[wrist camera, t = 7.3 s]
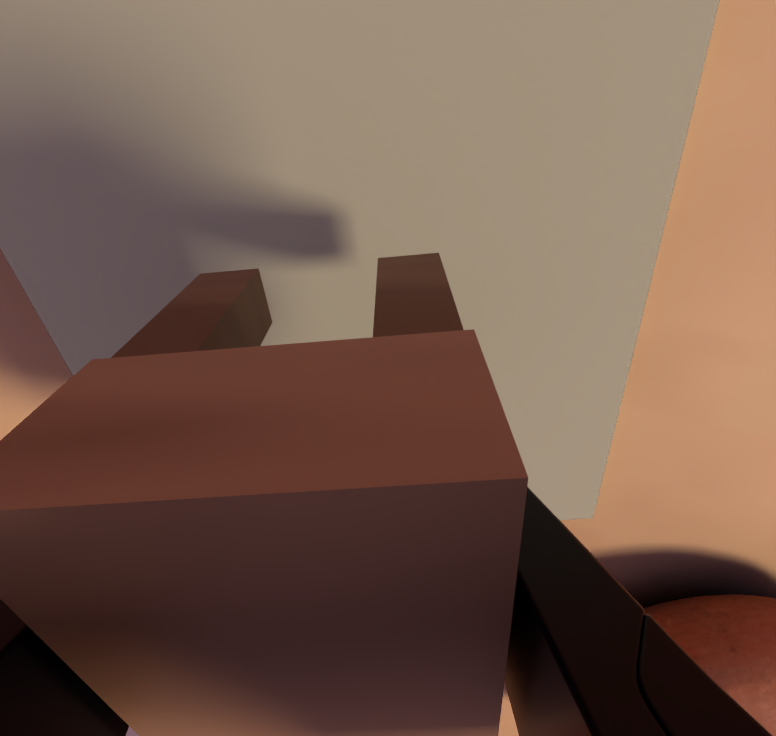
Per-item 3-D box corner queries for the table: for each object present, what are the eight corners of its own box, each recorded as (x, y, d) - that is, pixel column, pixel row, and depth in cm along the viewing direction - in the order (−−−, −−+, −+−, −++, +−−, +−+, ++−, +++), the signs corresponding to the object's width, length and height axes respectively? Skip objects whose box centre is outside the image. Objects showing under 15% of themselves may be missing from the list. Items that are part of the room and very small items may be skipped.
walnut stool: (448, 468, 12) (495, 758, 7) (265, 480, 12) (173, 769, 7) (444, 247, 8) (527, 478, 3) (193, 269, 9) (-85, 515, 4)
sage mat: (728, -94, 8) (744, -103, 7) (588, 509, 16) (592, 518, 16) (-117, 10, 8) (-138, 6, 8) (172, 534, 17) (168, 543, 17)
